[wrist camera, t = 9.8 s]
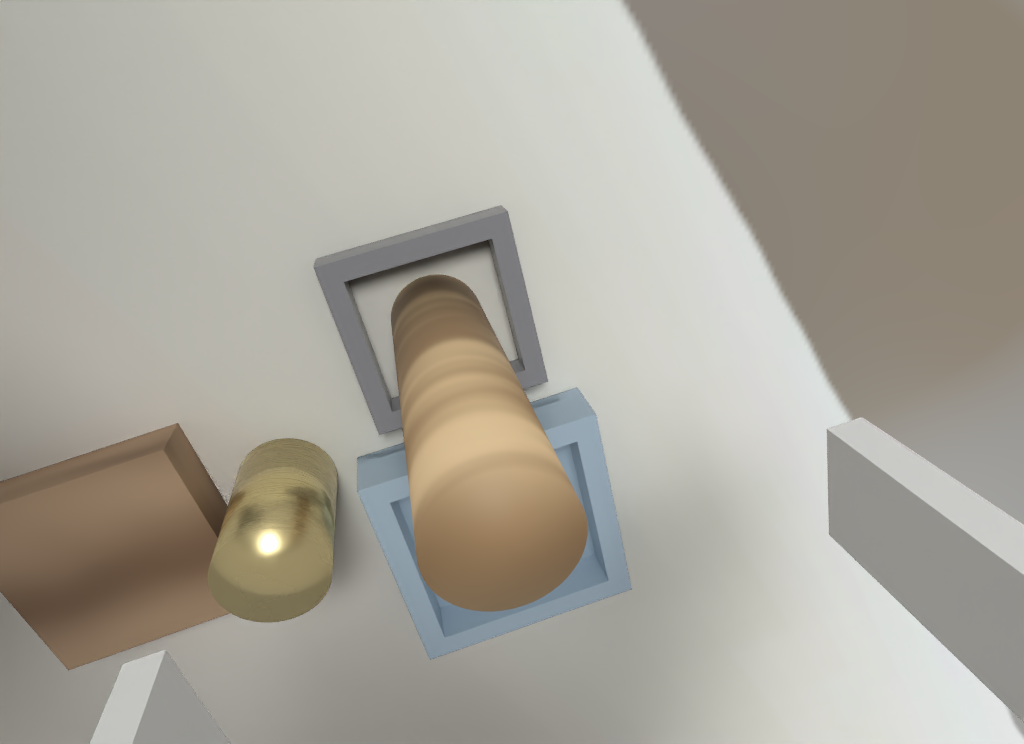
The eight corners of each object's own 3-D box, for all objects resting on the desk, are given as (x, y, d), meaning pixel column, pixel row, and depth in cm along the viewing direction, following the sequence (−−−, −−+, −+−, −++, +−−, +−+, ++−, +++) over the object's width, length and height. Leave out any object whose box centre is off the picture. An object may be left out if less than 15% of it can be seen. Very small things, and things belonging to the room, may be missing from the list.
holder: (316, 259, 24) (313, 267, 23) (501, 205, 24) (507, 211, 23) (378, 420, 27) (379, 434, 26) (540, 369, 28) (548, 381, 27)
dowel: (379, 289, 25) (392, 503, 12) (468, 263, 25) (570, 447, 13) (406, 370, 26) (443, 632, 14) (490, 345, 27) (600, 579, 14)
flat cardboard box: (-21, 484, 25) (-59, 523, 23) (180, 417, 26) (163, 449, 23) (91, 624, 29) (68, 670, 26) (266, 563, 29) (258, 603, 27)
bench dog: (221, 456, 26) (186, 553, 21) (317, 426, 27) (306, 513, 21) (261, 530, 28) (237, 637, 23) (350, 501, 28) (348, 599, 23)
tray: (357, 457, 28) (357, 491, 25) (577, 387, 28) (596, 414, 26) (424, 619, 32) (429, 659, 30) (613, 554, 33) (631, 589, 31)
